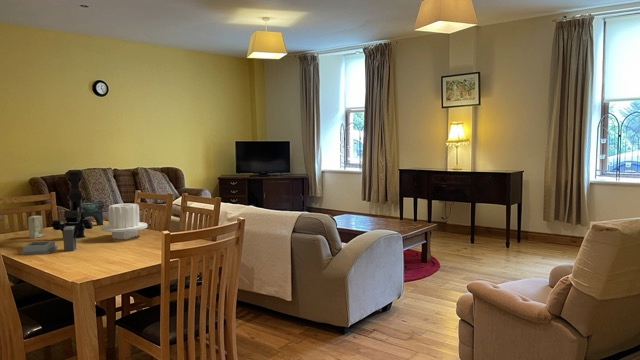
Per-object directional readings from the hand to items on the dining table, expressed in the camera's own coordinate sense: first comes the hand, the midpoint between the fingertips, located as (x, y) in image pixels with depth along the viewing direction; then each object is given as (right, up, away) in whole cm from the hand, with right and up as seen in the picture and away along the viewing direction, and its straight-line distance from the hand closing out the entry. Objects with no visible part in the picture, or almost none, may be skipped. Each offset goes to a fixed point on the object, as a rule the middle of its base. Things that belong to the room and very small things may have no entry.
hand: (68, 238), depth 244 cm
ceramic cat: (-22, -1, +68) cm, 72 cm away
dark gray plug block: (0, -6, +2) cm, 7 cm away
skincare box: (-38, -4, +35) cm, 52 cm away
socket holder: (-15, -7, 0) cm, 16 cm away
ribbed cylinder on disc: (+15, -4, +34) cm, 37 cm away
